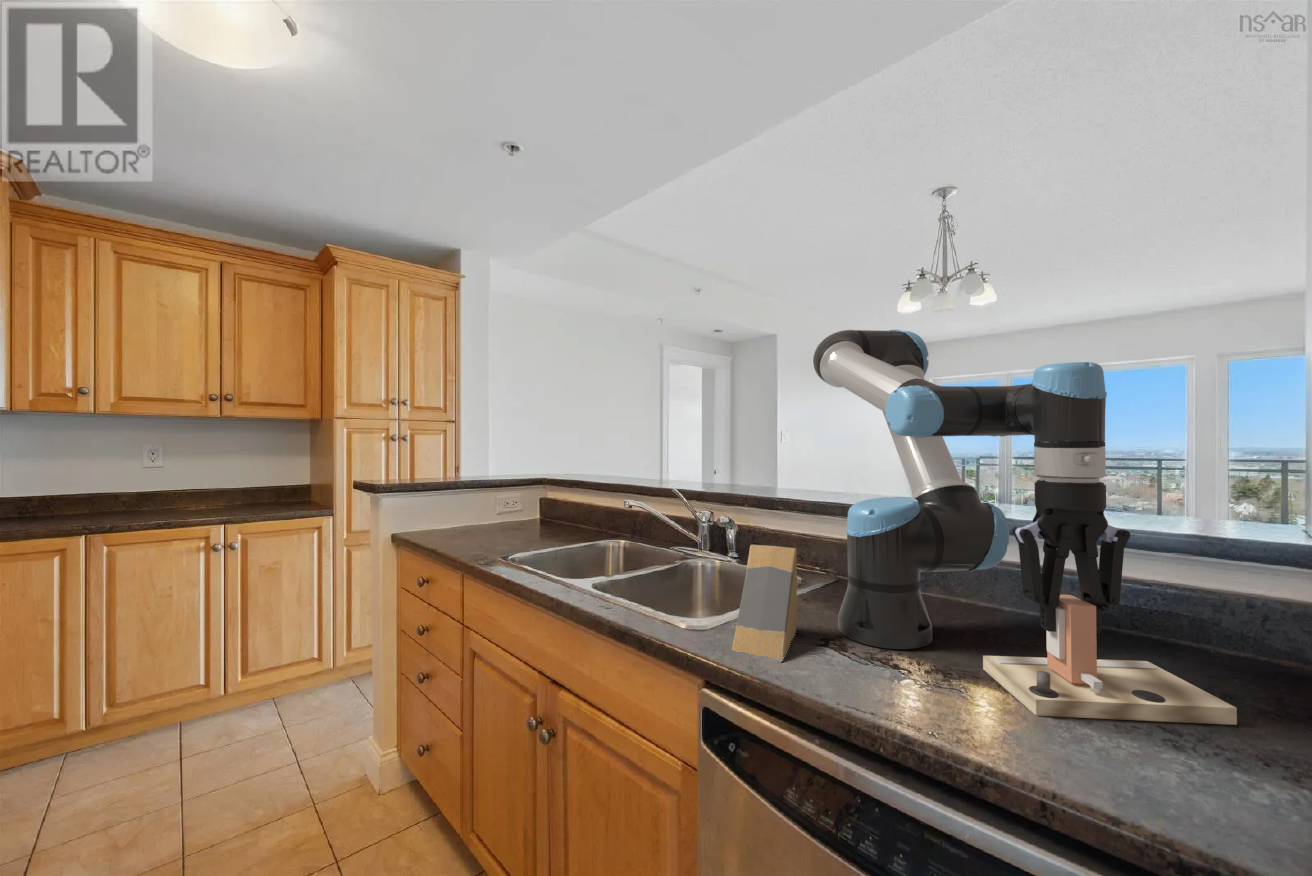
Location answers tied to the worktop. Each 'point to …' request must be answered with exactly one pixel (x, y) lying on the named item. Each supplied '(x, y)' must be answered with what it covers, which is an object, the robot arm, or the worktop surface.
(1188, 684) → the board
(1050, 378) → the robot arm
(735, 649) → the sandwich container
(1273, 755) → the worktop surface
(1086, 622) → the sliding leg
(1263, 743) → the worktop surface
